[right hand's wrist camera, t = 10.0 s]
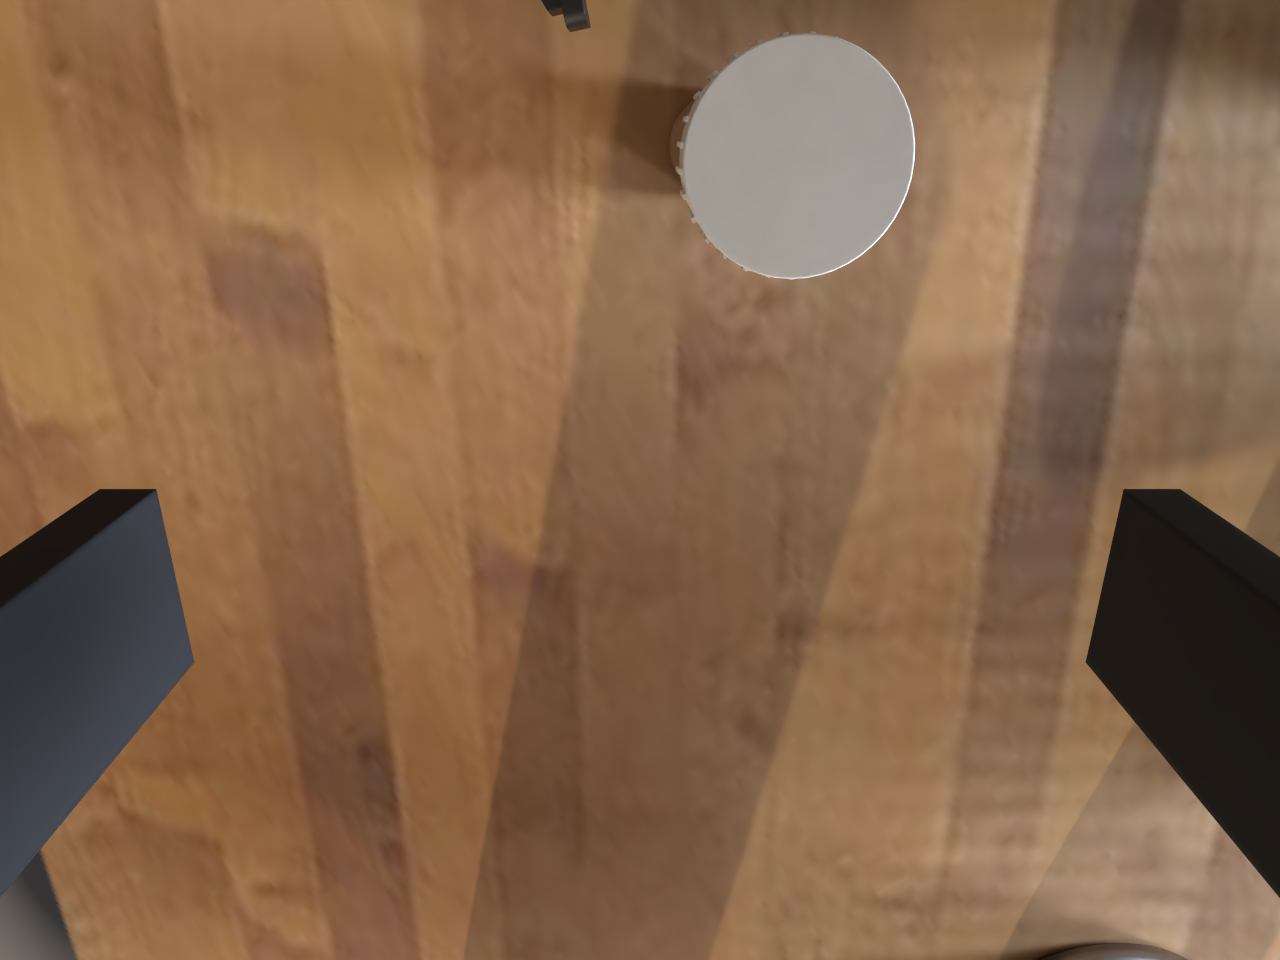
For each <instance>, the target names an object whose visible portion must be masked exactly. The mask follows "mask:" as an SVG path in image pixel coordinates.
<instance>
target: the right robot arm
mask: <svg viewBox="0 0 1280 960" xmlns="http://www.w3.org/2000/svg"><path fill="white" fill-rule="evenodd" d="M193 663H194V659H193V655H192V650H191V646H190V641H189V636H188V632H187V627H186V623H185V618H184V614H183V609H182V604H181V600H180V595H179V591H178V586H177V582H176V577H175V573H174V568H173V563H172V559H171V554H170V550H169V545H168V541H167V536H166V531H165V527H164V522H163V518H162V513H161V509H160V504H159V499H158V495H157V490H156V489H99V490H98V491H96V492H95V493H94V494H92V495H91V496H89V497H88V498H86V499H85V500H83V501H82V502H80V503H79V504H77V505H76V506H74V507H73V508H72V509H70V510H69V511H67V512H66V513H64V514H63V515H61V516H60V517H58V518H57V519H55V520H54V521H52V522H51V523H50V524H48V525H47V526H45V527H44V528H42V529H41V530H39V531H38V532H36V533H35V534H33V535H32V536H30V537H29V538H28V539H26V540H25V541H23V542H22V543H20V544H19V545H17V546H16V547H14V548H13V549H11V550H10V551H8V552H7V553H6V554H4V555H3V556H1V557H0V897H1V896H2V895H3V894H4V893H5V891H6V890H7V889H8V888H9V886H10V885H11V884H12V883H13V882H14V880H15V879H16V878H17V877H18V875H19V874H20V873H21V872H22V871H23V869H24V868H25V867H26V866H27V865H28V863H29V862H30V861H31V860H32V858H33V857H34V856H35V855H36V854H37V852H38V851H39V850H40V849H41V848H42V846H43V845H44V844H45V843H46V842H47V840H48V839H49V838H50V837H51V835H52V834H53V833H54V832H55V831H56V829H57V828H58V827H59V826H60V825H61V823H62V822H63V821H64V820H65V818H66V817H67V816H68V815H69V814H70V812H71V811H72V810H73V809H74V808H75V806H76V805H77V804H78V803H79V801H80V800H81V799H82V798H83V797H84V795H85V794H86V793H87V792H88V791H89V789H90V788H91V787H92V786H93V784H94V783H95V782H96V781H97V780H98V778H99V777H100V776H101V775H102V774H103V772H104V771H105V770H106V769H107V767H108V766H109V765H110V764H111V763H112V761H113V760H114V759H115V758H116V757H117V755H118V754H119V753H120V752H121V750H122V749H123V748H124V747H125V746H126V744H127V743H128V742H129V741H130V740H131V738H132V737H133V736H134V735H135V733H136V732H137V731H138V730H139V729H140V727H141V726H142V725H143V724H144V723H145V721H146V720H147V719H148V718H149V716H150V715H151V714H152V713H153V712H154V710H155V709H156V708H157V707H158V706H159V704H160V703H161V702H162V701H163V699H164V698H165V697H166V696H167V695H168V693H169V692H170V691H171V690H172V689H173V687H174V686H175V685H176V684H177V682H178V681H179V680H180V679H181V678H182V676H183V675H184V674H185V673H186V672H187V670H188V669H189V668H190V667H191V665H192V664H193ZM1086 663H1087V664H1088V665H1089V667H1090V668H1091V669H1092V670H1093V672H1094V673H1095V674H1096V675H1097V676H1098V678H1099V679H1100V680H1101V681H1102V682H1103V684H1104V685H1105V686H1106V687H1107V689H1108V690H1109V691H1110V692H1111V693H1112V695H1113V696H1114V697H1115V698H1116V699H1117V701H1118V702H1119V703H1120V704H1121V706H1122V707H1123V708H1124V709H1125V710H1126V712H1127V713H1128V714H1129V715H1130V716H1131V718H1132V719H1133V720H1134V721H1135V723H1136V724H1137V725H1138V726H1139V727H1140V729H1141V730H1142V731H1143V732H1144V733H1145V735H1146V736H1147V737H1148V738H1149V740H1150V741H1151V742H1152V743H1153V744H1154V746H1155V747H1156V748H1157V749H1158V750H1159V752H1160V753H1161V754H1162V755H1163V757H1164V758H1165V759H1166V760H1167V761H1168V763H1169V764H1170V765H1171V766H1172V767H1173V769H1174V770H1175V771H1176V772H1177V774H1178V775H1179V776H1180V777H1181V778H1182V780H1183V781H1184V782H1185V783H1186V784H1187V786H1188V787H1189V788H1190V789H1191V791H1192V792H1193V793H1194V794H1195V795H1196V797H1197V798H1198V799H1199V800H1200V801H1201V803H1202V804H1203V805H1204V806H1205V808H1206V809H1207V810H1208V811H1209V812H1210V814H1211V815H1212V816H1213V817H1214V818H1215V820H1216V821H1217V822H1218V823H1219V825H1220V826H1221V827H1222V828H1223V829H1224V831H1225V832H1226V833H1227V834H1228V835H1229V837H1230V838H1231V839H1232V840H1233V842H1234V843H1235V844H1236V845H1237V846H1238V848H1239V849H1240V850H1241V851H1242V852H1243V854H1244V855H1245V856H1246V857H1247V859H1248V860H1249V861H1250V862H1251V863H1252V865H1253V866H1254V867H1255V868H1256V869H1257V871H1258V872H1259V873H1260V874H1261V876H1262V877H1263V878H1264V879H1265V880H1266V882H1267V883H1268V884H1269V885H1270V886H1271V888H1272V889H1273V890H1274V891H1275V893H1276V894H1277V895H1278V896H1279V897H1280V557H1279V556H1277V555H1276V554H1274V553H1273V552H1272V551H1270V550H1269V549H1267V548H1266V547H1264V546H1263V545H1261V544H1260V543H1258V542H1257V541H1255V540H1254V539H1252V538H1251V537H1250V536H1248V535H1247V534H1245V533H1244V532H1242V531H1241V530H1239V529H1238V528H1236V527H1235V526H1233V525H1232V524H1230V523H1229V522H1228V521H1226V520H1225V519H1223V518H1222V517H1220V516H1219V515H1217V514H1216V513H1214V512H1213V511H1211V510H1210V509H1208V508H1207V507H1206V506H1204V505H1203V504H1201V503H1200V502H1198V501H1197V500H1195V499H1194V498H1192V497H1191V496H1189V495H1188V494H1186V493H1185V492H1184V491H1182V490H1181V489H1124V490H1123V495H1122V499H1121V504H1120V509H1119V513H1118V518H1117V522H1116V527H1115V531H1114V536H1113V541H1112V545H1111V550H1110V554H1109V559H1108V563H1107V568H1106V573H1105V577H1104V582H1103V586H1102V591H1101V595H1100V600H1099V604H1098V609H1097V614H1096V618H1095V623H1094V627H1093V632H1092V636H1091V641H1090V646H1089V650H1088V655H1087V659H1086ZM1042 960H1187V959H1185V958H1183V957H1181V956H1179V955H1177V954H1174V953H1172V952H1169V951H1166V950H1163V949H1159V948H1156V947H1151V946H1146V945H1139V944H1128V943H1109V944H1097V945H1090V946H1084V947H1079V948H1075V949H1071V950H1067V951H1063V952H1060V953H1057V954H1054V955H1051V956H1049V957H1047V958H1044V959H1042Z"/></svg>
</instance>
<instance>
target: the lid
mask: <svg viewBox="0 0 1280 960" xmlns="http://www.w3.org/2000/svg"><path fill="white" fill-rule="evenodd" d="M727 61H728V64H727V65H726V66H724V67H723V68H722V69H721V70H720V71H718V70H717V69H716V70H714V71H713V72H712V73H711V74H710V75H709V76H708V78H709V79H710V81H709V82H708V83H707V85H706V86H705V87H704V88H703V89H702V91H698V92H697V93H696V94H695V95H694V96H693V99H695V102H694V104H693V106H692V108H691V110H690V112H689V115H688V116H684V117H683V120H682V122H684V123H685V126H684V129H683V134H682V139H681V142H680V141H677V147H679V148H680V156H679V164H680V166H676V171H677V173H678V174H680V177H681V182H682V188H683V189H682V190H680V194H681V196H682V198H683V199H684V200H685V199H686V201H687V203H688V205H689V207H690V210H691V211H690V212H688V214H689V216H690V218H691V220H692V222H693V223H695V222H698V224H699V225H700V227H701V229H702V230H703V231H701V234H702V236H703V238H704V239H705V241H706V242H707V243H709V242H710V241H711V242H712V243H713V245H714V246H715V247H716V248H717V249H718V251H719V253H720V254H721V256H722V257H723V258H724V259H727V258H729V259H731V260H732V261H734V262H735V263H736V264H738V265H740V266H741V268H742V269H743V270H745V271H747V270H750V271H753V272H756V273H759V274H762V275H764V276H765V277H768V278H770V277H775V278H786V279H797V278H808V277H813V276H818V275H822V274H825V273H828V272H831V271H834V270H836V269H838V268H840V267H842V266H844V265H846V264H848V263H850V262H851V261H853V260H855V259H856V258H858V257H859V256H861V255H862V254H863V253H864V252H866V251H867V250H868V249H869V248H870V247H872V246H873V245H874V244H875V243H876V242H877V241H878V239H879V238H880V237H881V236H882V235H883V234H884V233H885V231H886V230H887V229H888V227H889V226H890V225H891V223H892V222H893V220H894V219H895V217H896V215H897V213H898V212H899V210H900V208H901V206H902V204H903V201H904V199H905V197H906V194H907V192H908V188H909V185H910V181H911V178H912V172H913V166H914V156H915V140H914V129H913V124H912V119H911V115H910V112H909V109H908V106H907V103H906V100H905V98H904V96H903V94H902V92H901V90H900V88H899V86H898V85H897V83H896V82H895V80H894V79H893V77H892V76H891V75H890V73H889V72H888V71H887V70H886V69H885V68H884V67H883V66H882V64H881V63H880V62H879V61H878V60H876V59H875V58H874V57H873V56H871V55H870V54H869V53H868V52H866V51H865V50H863V49H862V48H860V47H858V46H856V45H854V44H853V43H850V42H848V41H845V40H842V39H840V37H837V36H834V37H833V36H828V35H824V34H815V32H814V31H809V32H807V33H800V34H789V33H788V32H784V33H782V34H781V35H779V36H778V37H775V38H772V39H770V40H767V41H764V42H763V39H759V40H757V41H756V42H755V43H753V44H752V45H751V46H750V47H749V49H748V50H746V51H744V52H743V53H742V54H739V52H738V51H737V52H735V53H734V54H733V55H732V56H730V57H729V58H728V59H727Z"/></svg>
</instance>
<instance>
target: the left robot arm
mask: <svg viewBox="0 0 1280 960" xmlns="http://www.w3.org/2000/svg"><path fill="white" fill-rule="evenodd" d="M541 1H542V2H543V4H544V6H545V7H546V9H547V10H548V12H549V13H550V14H551V15H552V16H555V15H560V14H564V19H565V23H566V26H567V28H568V30H569V31H570V32H573V31H578V30H582V29H587V28H590V22H589V16H588V11H587V6H586V1H585V0H541Z"/></svg>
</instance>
